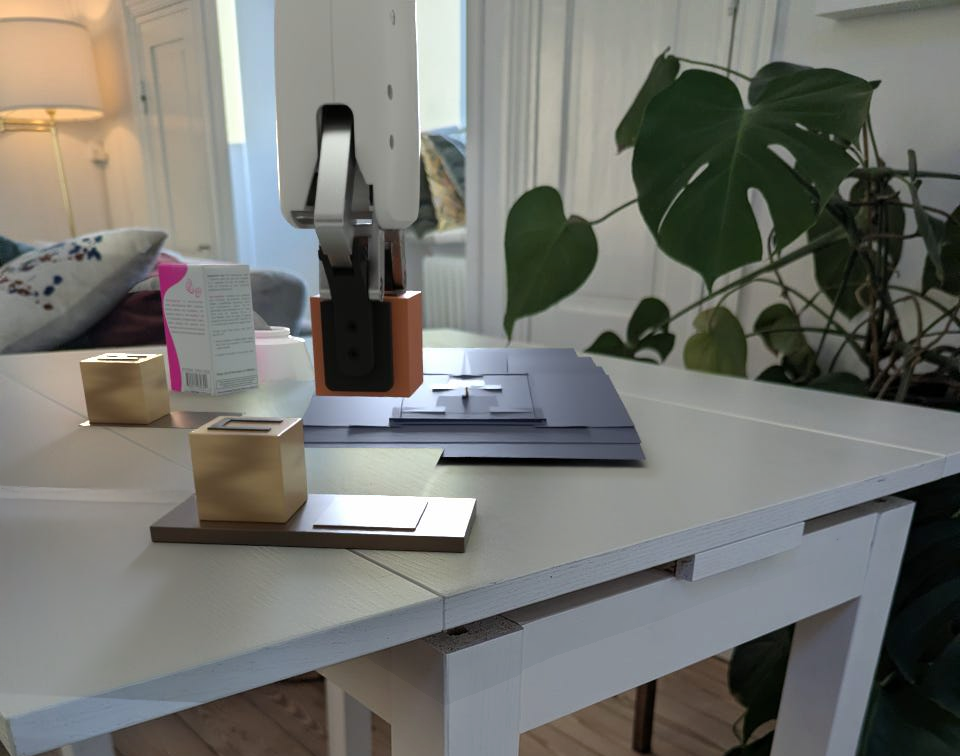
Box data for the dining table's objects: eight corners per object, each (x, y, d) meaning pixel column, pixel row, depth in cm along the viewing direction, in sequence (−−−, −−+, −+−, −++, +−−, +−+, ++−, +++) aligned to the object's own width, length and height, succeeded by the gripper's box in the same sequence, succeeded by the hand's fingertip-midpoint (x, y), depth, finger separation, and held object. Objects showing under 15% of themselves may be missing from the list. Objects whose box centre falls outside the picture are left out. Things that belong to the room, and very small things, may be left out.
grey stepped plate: (591, 377, 90) (594, 338, 88) (646, 497, 64) (651, 446, 62) (337, 376, 89) (334, 337, 87) (290, 497, 64) (284, 445, 62)
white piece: (309, 389, 90) (302, 278, 86) (122, 388, 90) (106, 277, 86) (323, 374, 99) (317, 273, 95) (152, 373, 99) (138, 272, 95)
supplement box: (262, 395, 87) (251, 262, 82) (214, 404, 82) (200, 264, 78) (218, 389, 90) (205, 260, 85) (169, 398, 85) (152, 262, 81)
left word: (79, 435, 70) (67, 361, 68) (116, 419, 76) (106, 350, 74) (219, 439, 70) (212, 364, 67) (246, 422, 75) (240, 353, 73)
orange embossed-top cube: (315, 396, 45) (309, 294, 43) (336, 381, 49) (331, 288, 47) (410, 397, 45) (407, 295, 43) (423, 382, 49) (421, 289, 47)
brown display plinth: (151, 541, 48) (136, 435, 45) (200, 503, 54) (189, 408, 52) (464, 552, 46) (464, 443, 44) (476, 512, 53) (477, 416, 51)
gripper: (313, -14, 47) (334, 358, 55) (192, -128, 32) (244, 411, 39) (460, -17, 47) (462, 360, 54) (409, -134, 31) (421, 415, 39)
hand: (370, 377), depth 47 cm, fingers closed on orange embossed-top cube, 4 cm apart
